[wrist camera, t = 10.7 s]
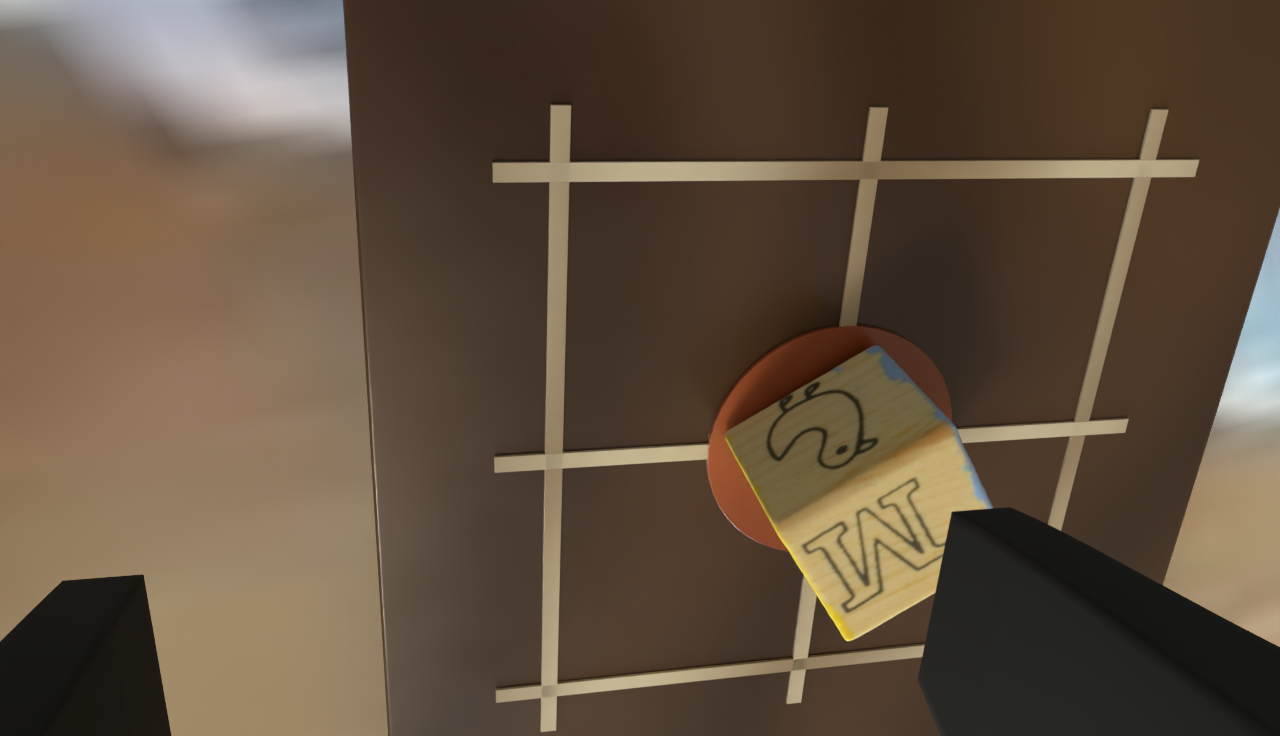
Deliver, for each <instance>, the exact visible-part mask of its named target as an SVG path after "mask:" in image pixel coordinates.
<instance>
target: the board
mask: <svg viewBox="0 0 1280 736" xmlns="http://www.w3.org/2000/svg"><path fill="white" fill-rule="evenodd" d="M343 7H344V24H345V40H346V56H347V72H348V88H349V105H350V121H351V137H352V153H353V170H354V186H355V202H356V218H357V234H358V251H359V267H360V283H361V299H362V316H363V332H364V348H365V364H366V380H367V397H368V413H369V429H370V445H371V462H372V478H373V494H374V510H375V526H376V543H377V559H378V575H379V591H380V608H381V624H382V640H383V656H384V672H385V689H386V705H387V721H388V736H941V735H940V733H939V730H938V728H937V725H936V723H935V721H934V718H933V716H932V714H931V711H930V709H929V706H928V704H927V702H926V699H925V697H924V694H923V692H922V690H921V687H920V685H919V682H918V675H919V671H920V666H921V661H922V656H923V651H924V646H925V641H926V636H927V631H928V626H929V621H930V616H931V612H932V607H933V602H934V597H935V593H934V594H932V595H931V596H929V597H927V598H925V599H924V600H922V601H920V602H918V603H917V604H915V605H913V606H911V607H910V608H908V609H906V610H904V611H903V612H901V613H899V614H897V615H896V616H894V617H893V618H891V619H889V620H887V621H886V622H884V623H882V624H881V625H879V626H877V627H876V628H874V629H872V630H871V631H869V632H867V633H865V634H863V635H862V636H860V637H858V638H856V639H854V640H851V641H846V640H845V639H844V638H843V636H842V634H841V633H840V631H839V629H838V628H837V626H836V625H835V623H834V621H833V620H832V619H831V617H830V616H829V614H828V612H827V611H826V609H825V607H824V606H823V605H822V603H821V601H820V600H819V598H818V596H817V595H816V593H815V592H814V590H813V589H812V587H811V586H810V584H809V582H808V581H807V579H806V578H805V576H804V574H803V573H802V571H801V570H800V569H799V567H798V566H797V564H796V562H795V561H794V559H793V557H792V556H791V554H790V552H789V551H788V549H787V548H786V546H785V545H784V544H783V542H782V541H781V539H780V538H779V536H778V535H777V533H776V531H775V529H774V527H773V525H772V524H771V522H770V520H769V518H768V517H767V515H766V513H765V511H764V509H763V507H762V505H761V504H760V502H759V500H758V498H757V496H756V494H755V492H754V491H753V489H752V487H751V485H750V483H749V482H748V480H747V478H746V476H745V474H744V473H743V471H742V469H741V468H740V466H739V464H738V462H737V460H736V459H735V457H734V455H733V453H732V451H731V449H730V447H729V445H728V443H727V441H726V440H725V433H726V432H727V431H728V430H730V429H731V428H733V427H735V426H736V425H738V424H740V423H742V422H744V421H745V420H747V419H748V418H750V417H752V416H753V415H755V414H757V413H759V412H760V411H762V410H764V409H766V408H768V407H769V406H771V405H772V404H774V403H776V402H778V401H779V400H781V399H783V398H784V397H786V396H787V395H789V394H791V393H792V392H794V391H796V390H797V389H799V388H801V387H803V386H805V385H806V384H808V383H810V382H812V381H813V380H815V379H817V378H818V377H820V376H822V375H824V374H826V373H827V372H829V371H831V370H832V369H834V368H835V367H837V366H839V365H840V364H842V363H844V362H846V361H847V360H849V359H850V358H852V357H854V356H856V355H858V354H859V353H861V352H863V351H864V350H866V349H868V348H870V347H872V346H875V345H877V346H880V347H881V348H882V349H884V350H885V351H886V353H887V354H888V355H889V356H890V357H891V358H892V359H893V360H894V361H895V362H896V363H897V365H898V366H899V367H900V368H901V369H902V370H903V371H904V372H905V373H906V374H907V375H908V376H909V377H910V379H911V380H912V381H913V382H914V383H915V384H916V385H917V386H918V387H919V388H920V389H921V390H922V391H923V392H924V393H925V394H926V396H928V398H930V399H931V401H932V402H933V403H934V404H935V405H936V406H937V407H938V408H939V409H940V410H941V411H942V412H943V413H944V414H945V415H946V416H947V417H948V418H949V419H950V420H951V422H952V423H953V424H954V425H955V426H956V429H957V431H958V433H959V435H960V437H961V440H962V444H963V446H964V448H965V450H966V452H967V454H968V456H969V458H970V459H971V462H972V463H973V465H974V467H975V470H976V472H977V474H978V476H979V479H980V481H981V484H982V485H983V487H984V488H985V491H986V493H987V496H988V498H989V500H990V502H991V504H992V506H993V508H1005V507H1011V508H1013V509H1015V510H1018V511H1020V512H1022V513H1025V514H1027V515H1029V516H1031V517H1034V518H1036V519H1038V520H1040V521H1042V522H1044V523H1046V524H1048V525H1050V526H1052V527H1054V528H1056V529H1058V530H1060V531H1062V532H1064V533H1066V534H1068V535H1070V536H1072V537H1074V538H1076V539H1077V540H1079V541H1081V542H1083V543H1085V544H1087V545H1089V546H1091V547H1093V548H1094V549H1096V550H1098V551H1100V552H1102V553H1104V554H1106V555H1108V556H1109V557H1111V558H1113V559H1115V560H1117V561H1119V562H1120V563H1122V564H1124V565H1126V566H1128V567H1130V568H1131V569H1133V570H1135V571H1137V572H1139V573H1141V574H1142V575H1144V576H1146V577H1148V578H1150V579H1152V580H1154V581H1155V582H1157V583H1159V584H1161V585H1163V582H1164V579H1165V576H1166V573H1167V570H1168V566H1169V563H1170V560H1171V557H1172V553H1173V550H1174V547H1175V544H1176V541H1177V537H1178V534H1179V531H1180V528H1181V524H1182V521H1183V518H1184V515H1185V512H1186V508H1187V505H1188V502H1189V499H1190V495H1191V492H1192V489H1193V486H1194V483H1195V479H1196V476H1197V473H1198V470H1199V466H1200V463H1201V460H1202V457H1203V454H1204V450H1205V447H1206V444H1207V441H1208V437H1209V434H1210V431H1211V428H1212V425H1213V421H1214V418H1215V415H1216V412H1217V408H1218V405H1219V402H1220V399H1221V396H1222V392H1223V389H1224V386H1225V383H1226V379H1227V376H1228V373H1229V370H1230V367H1231V363H1232V360H1233V357H1234V354H1235V351H1236V347H1237V344H1238V341H1239V338H1240V334H1241V331H1242V328H1243V325H1244V322H1245V318H1246V315H1247V312H1248V309H1249V305H1250V302H1251V299H1252V296H1253V293H1254V289H1255V286H1256V283H1257V280H1258V276H1259V273H1260V270H1261V267H1262V264H1263V260H1264V257H1265V254H1266V251H1267V247H1268V244H1269V241H1270V238H1271V235H1272V231H1273V228H1274V225H1275V222H1276V218H1277V215H1278V212H1279V209H1280V0H343Z"/></svg>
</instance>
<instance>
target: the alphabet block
mask: <svg viewBox="0 0 1280 736" xmlns="http://www.w3.org/2000/svg"><path fill="white" fill-rule="evenodd" d="M725 440H726V441H727V443H728V445H729V447H730V449H731V451H732V453H733V455H734V457H735V459H736V460H737V462H738V464H739V466H740V468H741V469H742V471H743V473H744V474H745V476H746V478H747V480H748V482H749V483H750V485H751V487H752V489H753V491H754V492H755V494H756V496H757V498H758V500H759V502H760V504H761V505H762V507H763V509H764V511H765V513H766V515H767V517H768V518H769V520H770V522H771V524H772V525H773V527H774V529H775V531H776V533H777V535H778V536H779V538H780V539H781V541H782V542H783V544H784V545H785V546H786V548H787V549H788V551H789V552H790V554H791V556H792V557H793V559H794V561H795V562H796V564H797V566H798V567H799V569H800V570H801V571H802V573H803V574H804V576H805V578H806V579H807V581H808V582H809V584H810V586H811V587H812V589H813V590H814V592H815V593H816V595H817V596H818V598H819V600H820V601H821V603H822V605H823V606H824V607H825V609H826V611H827V612H828V614H829V616H830V617H831V619H832V620H833V621H834V623H835V625H836V626H837V628H838V629H839V631H840V633H841V634H842V636H843V638H844V639H845V640H846V641H851V640H854V639H856V638H858V637H860V636H862V635H863V634H865V633H867V632H869V631H871V630H872V629H874V628H876V627H877V626H879V625H881V624H882V623H884V622H886V621H887V620H889V619H891V618H893V617H894V616H896V615H897V614H899V613H901V612H903V611H904V610H906V609H908V608H910V607H911V606H913V605H915V604H917V603H918V602H920V601H922V600H924V599H925V598H927V597H929V596H931V595H932V594H934V593H935V592H936V587H937V582H938V577H939V572H940V567H941V562H942V557H943V552H944V548H945V543H946V538H947V533H948V528H949V523H950V518H951V513H952V512H954V511H967V510H980V509H992V508H993V506H992V504H991V502H990V500H989V498H988V496H987V493H986V491H985V488H984V487H983V485H982V484H981V481H980V479H979V476H978V474H977V472H976V470H975V467H974V465H973V463H972V462H971V459H970V458H969V456H968V454H967V452H966V450H965V448H964V446H963V444H962V440H961V437H960V435H959V433H958V431H957V429H956V426H955V425H954V424H953V423H952V422H951V420H950V419H949V418H948V417H947V416H946V415H945V414H944V413H943V412H942V411H941V410H940V409H939V408H938V407H937V406H936V405H935V404H934V403H933V402H932V401H931V399H930V398H928V396H926V394H925V393H924V392H923V391H922V390H921V389H920V388H919V387H918V386H917V385H916V384H915V383H914V382H913V381H912V380H911V379H910V377H909V376H908V375H907V374H906V373H905V372H904V371H903V370H902V369H901V368H900V367H899V366H898V365H897V363H896V362H895V361H894V360H893V359H892V358H891V357H890V356H889V355H888V354H887V353H886V351H885V350H884V349H882V348H881V347H880V346H877V345H875V346H872V347H870V348H868V349H866V350H864V351H863V352H861V353H859V354H858V355H856V356H854V357H852V358H850V359H849V360H847V361H846V362H844V363H842V364H840V365H839V366H837V367H835V368H834V369H832V370H831V371H829V372H827V373H826V374H824V375H822V376H820V377H818V378H817V379H815V380H813V381H812V382H810V383H808V384H806V385H805V386H803V387H801V388H799V389H797V390H796V391H794V392H792V393H791V394H789V395H787V396H786V397H784V398H783V399H781V400H779V401H778V402H776V403H774V404H772V405H771V406H769V407H768V408H766V409H764V410H762V411H760V412H759V413H757V414H755V415H753V416H752V417H750V418H748V419H747V420H745V421H744V422H742V423H740V424H738V425H736V426H735V427H733V428H731V429H730V430H728V431H727V432H726V433H725Z"/></svg>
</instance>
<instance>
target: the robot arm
mask: <svg viewBox="0 0 1280 736" xmlns="http://www.w3.org/2000/svg"><path fill="white" fill-rule="evenodd" d="M918 682H919V685H920V687H921V690H922V692H923V694H924V697H925V699H926V702H927V704H928V706H929V709H930V711H931V714H932V716H933V718H934V721H935V723H936V725H937V728H938V730H939V733H940V735H941V736H1280V647H1278V646H1276V645H1274V644H1272V643H1270V642H1268V641H1267V640H1265V639H1263V638H1261V637H1259V636H1257V635H1255V634H1253V633H1251V632H1249V631H1247V630H1245V629H1243V628H1241V627H1239V626H1237V625H1236V624H1234V623H1232V622H1230V621H1228V620H1226V619H1224V618H1222V617H1220V616H1218V615H1217V614H1215V613H1213V612H1211V611H1209V610H1207V609H1205V608H1204V607H1202V606H1200V605H1198V604H1196V603H1194V602H1192V601H1190V600H1189V599H1187V598H1185V597H1183V596H1181V595H1179V594H1177V593H1176V592H1174V591H1172V590H1170V589H1168V588H1166V587H1165V586H1163V585H1161V584H1159V583H1157V582H1155V581H1154V580H1152V579H1150V578H1148V577H1146V576H1144V575H1142V574H1141V573H1139V572H1137V571H1135V570H1133V569H1131V568H1130V567H1128V566H1126V565H1124V564H1122V563H1120V562H1119V561H1117V560H1115V559H1113V558H1111V557H1109V556H1108V555H1106V554H1104V553H1102V552H1100V551H1098V550H1096V549H1094V548H1093V547H1091V546H1089V545H1087V544H1085V543H1083V542H1081V541H1079V540H1077V539H1076V538H1074V537H1072V536H1070V535H1068V534H1066V533H1064V532H1062V531H1060V530H1058V529H1056V528H1054V527H1052V526H1050V525H1048V524H1046V523H1044V522H1042V521H1040V520H1038V519H1036V518H1034V517H1031V516H1029V515H1027V514H1025V513H1022V512H1020V511H1018V510H1015V509H1013V508H1011V507H1005V508H992V509H980V510H967V511H954V512H952V513H951V518H950V523H949V528H948V533H947V538H946V543H945V548H944V552H943V557H942V562H941V567H940V572H939V577H938V582H937V587H936V592H935V597H934V602H933V607H932V612H931V616H930V621H929V626H928V631H927V636H926V641H925V646H924V651H923V656H922V661H921V666H920V671H919V675H918ZM0 736H171V732H170V726H169V720H168V714H167V709H166V703H165V697H164V691H163V685H162V680H161V674H160V668H159V662H158V656H157V651H156V645H155V639H154V633H153V627H152V622H151V616H150V610H149V604H148V599H147V593H146V587H145V581H144V575H132V576H119V577H106V578H93V579H81V580H68V581H62V582H61V583H60V584H59V585H58V586H57V587H56V588H55V589H54V590H53V591H52V592H51V593H49V594H48V595H47V596H46V597H45V598H44V599H43V600H42V601H41V602H40V603H39V604H38V605H37V606H36V607H35V608H34V609H33V610H32V611H31V612H30V613H29V614H28V615H27V616H26V617H25V618H24V619H23V620H22V621H21V622H20V623H19V624H18V625H17V626H16V627H15V628H14V629H13V630H12V631H11V632H10V633H9V634H8V635H7V636H6V637H5V638H4V639H3V640H2V641H1V642H0Z"/></svg>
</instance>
